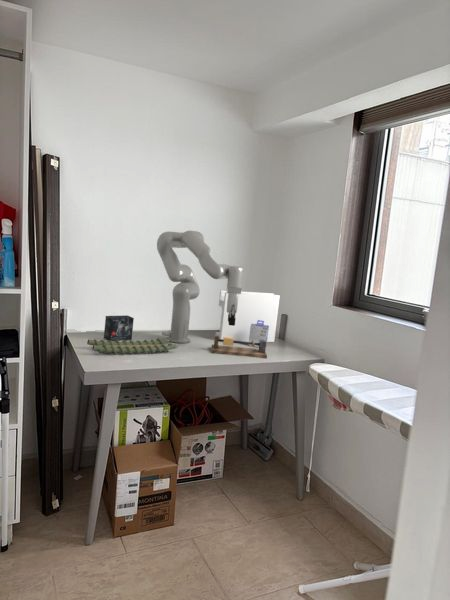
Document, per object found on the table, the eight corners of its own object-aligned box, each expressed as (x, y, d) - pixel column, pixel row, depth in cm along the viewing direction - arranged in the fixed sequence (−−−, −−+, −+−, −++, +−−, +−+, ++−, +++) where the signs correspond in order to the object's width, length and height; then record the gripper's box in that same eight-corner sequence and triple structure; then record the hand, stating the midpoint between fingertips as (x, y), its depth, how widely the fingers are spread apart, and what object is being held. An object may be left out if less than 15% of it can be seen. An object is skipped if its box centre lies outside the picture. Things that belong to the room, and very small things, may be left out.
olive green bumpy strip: (93, 356, 206) (93, 346, 206) (86, 348, 219) (86, 338, 218) (177, 354, 226) (178, 344, 226) (166, 346, 239) (167, 337, 238)
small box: (109, 341, 235) (111, 318, 233) (103, 338, 240) (104, 315, 238) (132, 340, 244) (134, 317, 242) (125, 336, 249) (127, 315, 247)
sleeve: (223, 344, 238) (223, 338, 238) (222, 343, 242) (223, 336, 241) (232, 345, 239) (233, 339, 238) (232, 344, 242) (233, 337, 242)
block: (220, 341, 262) (226, 292, 258) (215, 338, 269) (220, 290, 265) (274, 341, 277) (280, 295, 273) (267, 338, 284) (273, 293, 280)
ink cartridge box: (266, 346, 262) (269, 321, 260) (265, 348, 257) (268, 322, 255) (249, 343, 264) (252, 318, 262) (248, 345, 259) (251, 320, 257)
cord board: (211, 352, 234) (213, 338, 233) (211, 347, 246) (212, 333, 245) (266, 358, 236) (268, 343, 235) (263, 352, 248) (265, 338, 247)
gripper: (226, 288, 245) (223, 320, 247) (227, 291, 228) (224, 326, 230) (240, 289, 245) (237, 321, 247) (242, 293, 228) (239, 327, 230)
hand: (231, 323), depth 238 cm, fingers open, 9 cm apart
